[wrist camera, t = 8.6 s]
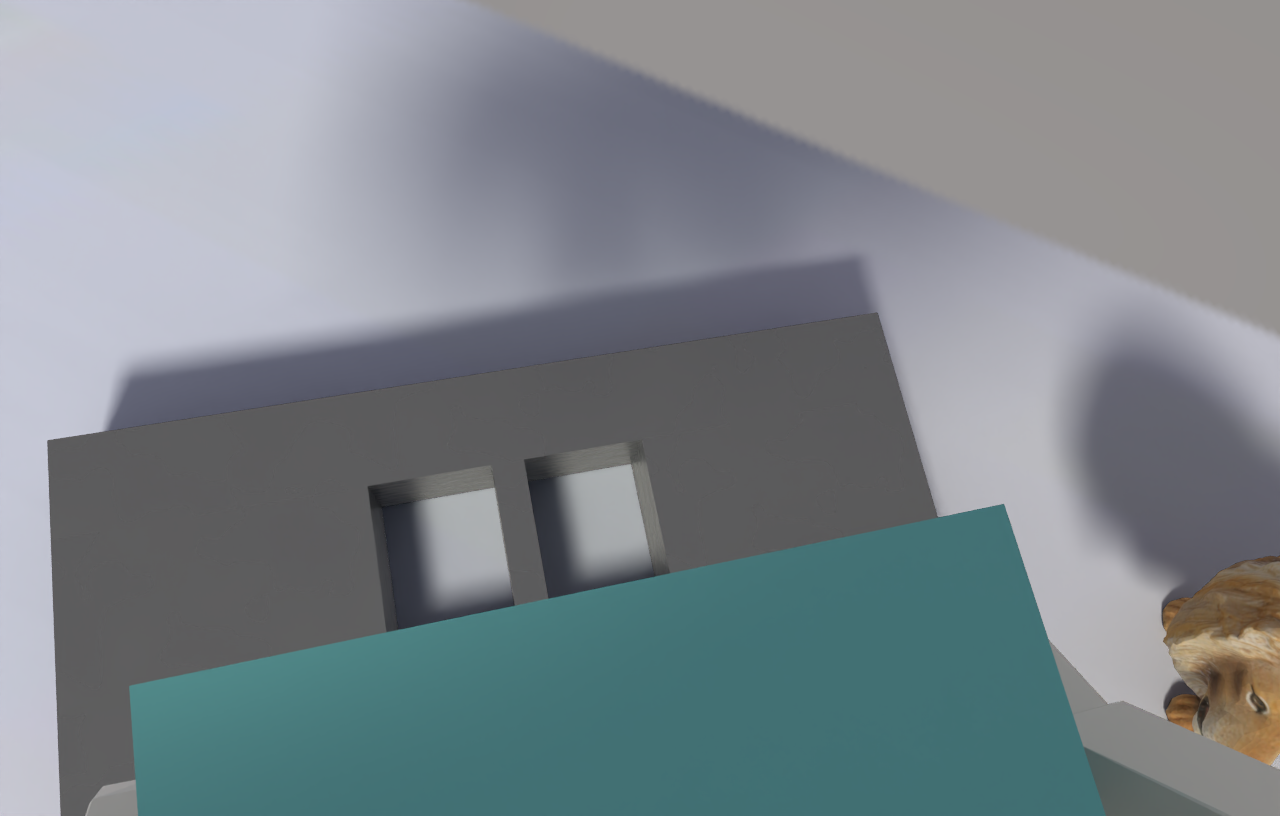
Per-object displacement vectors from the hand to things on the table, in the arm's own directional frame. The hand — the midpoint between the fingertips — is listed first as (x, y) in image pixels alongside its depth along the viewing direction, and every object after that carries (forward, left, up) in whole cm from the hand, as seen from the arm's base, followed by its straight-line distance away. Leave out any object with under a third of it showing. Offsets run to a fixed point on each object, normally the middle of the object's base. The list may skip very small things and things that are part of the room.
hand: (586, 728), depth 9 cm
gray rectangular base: (0, -4, -16) cm, 17 cm away
